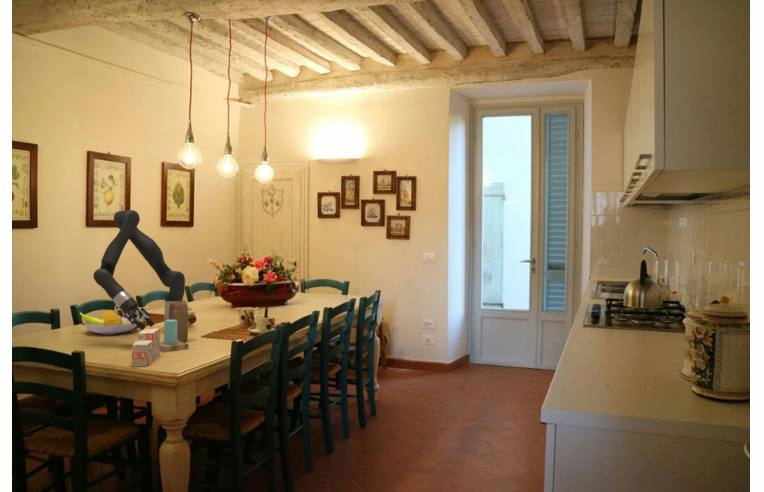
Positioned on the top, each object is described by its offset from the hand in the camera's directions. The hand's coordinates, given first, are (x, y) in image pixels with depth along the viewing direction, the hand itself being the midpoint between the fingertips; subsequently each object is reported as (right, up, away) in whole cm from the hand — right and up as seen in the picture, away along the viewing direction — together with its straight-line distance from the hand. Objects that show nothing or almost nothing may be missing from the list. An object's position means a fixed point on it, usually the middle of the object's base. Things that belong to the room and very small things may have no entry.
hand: (148, 327), depth 270 cm
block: (+8, -9, +16) cm, 21 cm away
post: (+11, -8, -1) cm, 13 cm away
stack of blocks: (+9, -11, -24) cm, 28 cm away
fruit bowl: (-35, -8, +34) cm, 50 cm away
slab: (+11, -11, -1) cm, 15 cm away
